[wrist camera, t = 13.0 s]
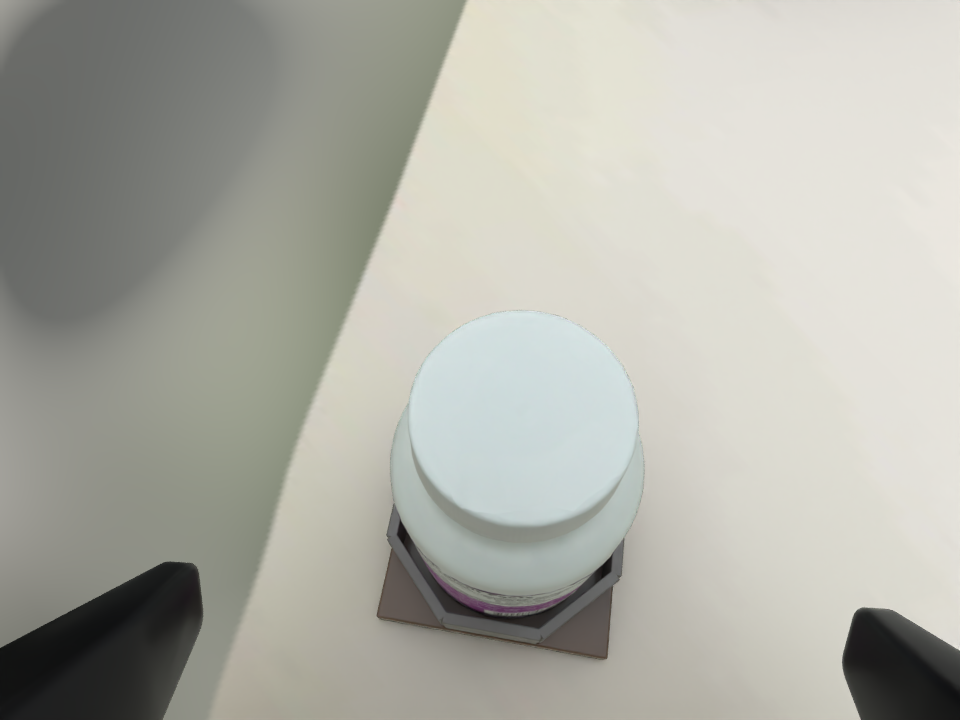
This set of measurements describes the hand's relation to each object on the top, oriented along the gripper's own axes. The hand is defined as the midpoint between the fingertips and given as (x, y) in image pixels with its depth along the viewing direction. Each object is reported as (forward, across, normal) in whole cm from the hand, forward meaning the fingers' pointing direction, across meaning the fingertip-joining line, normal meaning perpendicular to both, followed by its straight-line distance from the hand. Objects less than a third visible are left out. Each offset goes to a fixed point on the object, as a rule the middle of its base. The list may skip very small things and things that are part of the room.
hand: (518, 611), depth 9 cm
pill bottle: (+10, 0, +5) cm, 11 cm away
